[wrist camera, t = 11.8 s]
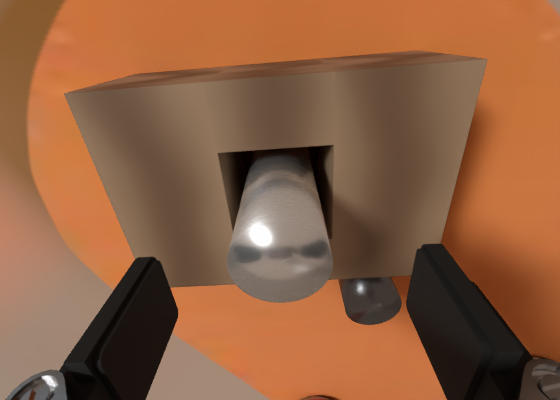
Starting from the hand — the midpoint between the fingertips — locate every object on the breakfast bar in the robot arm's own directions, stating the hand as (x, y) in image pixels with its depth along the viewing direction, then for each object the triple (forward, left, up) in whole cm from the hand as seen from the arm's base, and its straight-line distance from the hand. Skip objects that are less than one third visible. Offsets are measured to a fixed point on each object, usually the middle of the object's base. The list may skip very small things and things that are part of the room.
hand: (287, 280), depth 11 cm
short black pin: (-6, +10, -12) cm, 17 cm away
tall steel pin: (0, 0, -12) cm, 12 cm away
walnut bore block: (0, 0, -12) cm, 12 cm away
